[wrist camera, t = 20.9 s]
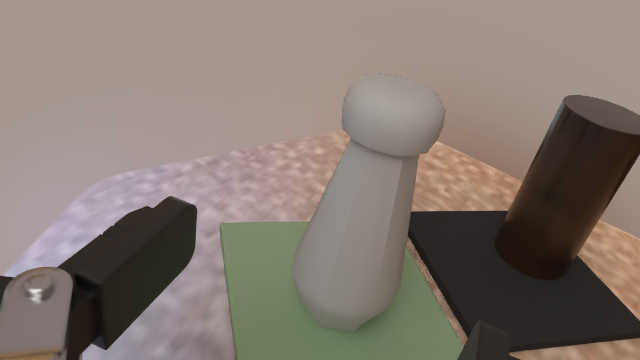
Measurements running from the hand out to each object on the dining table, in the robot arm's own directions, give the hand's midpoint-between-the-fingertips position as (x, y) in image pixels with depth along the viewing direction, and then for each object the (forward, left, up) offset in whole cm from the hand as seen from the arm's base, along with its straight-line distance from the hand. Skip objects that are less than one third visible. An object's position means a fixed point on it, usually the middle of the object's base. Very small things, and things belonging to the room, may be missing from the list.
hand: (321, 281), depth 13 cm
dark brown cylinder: (-20, -12, -11) cm, 26 cm away
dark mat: (-18, -11, -11) cm, 24 cm away
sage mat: (-5, -9, -11) cm, 15 cm away
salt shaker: (-5, -9, -11) cm, 15 cm away
